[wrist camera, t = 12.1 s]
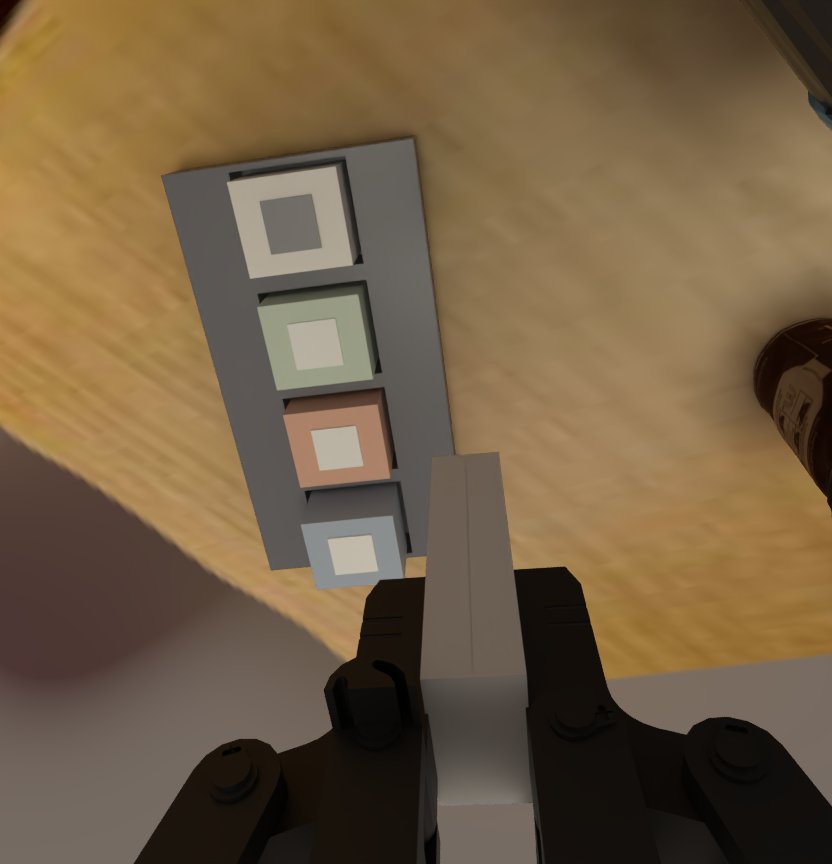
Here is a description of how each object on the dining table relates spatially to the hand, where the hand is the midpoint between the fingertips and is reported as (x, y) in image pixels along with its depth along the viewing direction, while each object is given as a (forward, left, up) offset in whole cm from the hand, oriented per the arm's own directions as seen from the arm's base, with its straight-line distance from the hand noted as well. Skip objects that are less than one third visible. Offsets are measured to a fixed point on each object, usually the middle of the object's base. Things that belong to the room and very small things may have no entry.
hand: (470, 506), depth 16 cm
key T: (+7, -7, -23) cm, 25 cm away
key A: (+2, -7, -23) cm, 24 cm away
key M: (+13, -7, -21) cm, 26 cm away
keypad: (+4, -7, -23) cm, 25 cm away
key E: (-4, -7, -23) cm, 24 cm away
